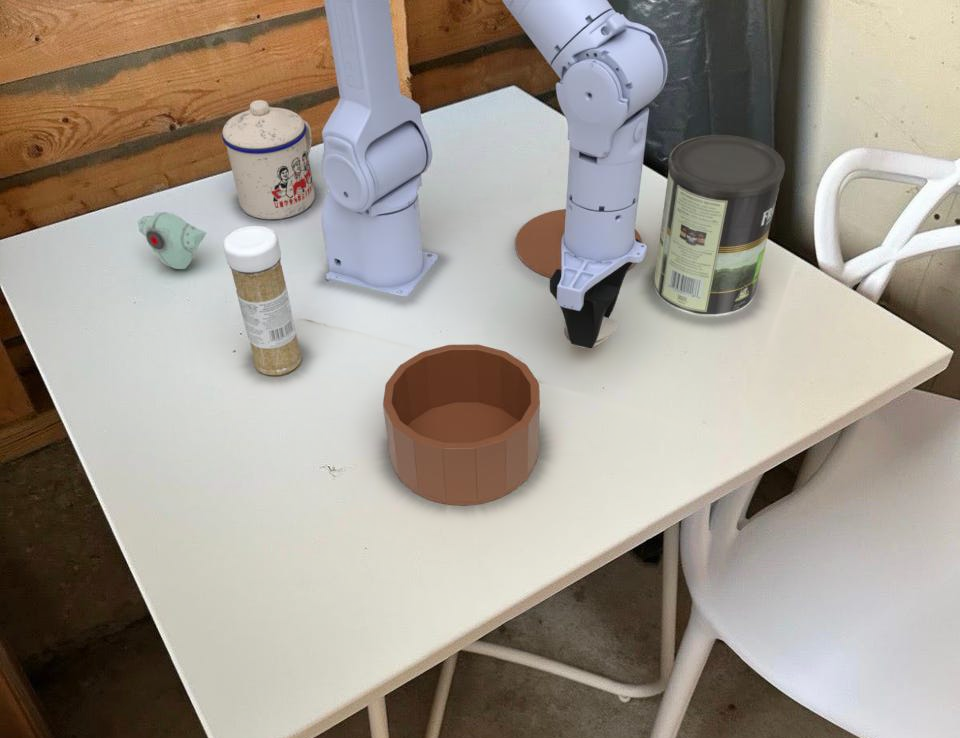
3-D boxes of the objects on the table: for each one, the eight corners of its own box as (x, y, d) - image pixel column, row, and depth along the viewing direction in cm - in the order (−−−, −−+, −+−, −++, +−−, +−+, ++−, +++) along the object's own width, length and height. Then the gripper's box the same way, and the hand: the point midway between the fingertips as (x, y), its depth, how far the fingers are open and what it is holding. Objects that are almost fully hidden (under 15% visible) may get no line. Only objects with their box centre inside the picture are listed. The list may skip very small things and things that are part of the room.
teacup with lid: (286, 229, 103) (266, 130, 94) (221, 210, 106) (197, 112, 98) (346, 180, 110) (333, 83, 102) (284, 163, 113) (266, 68, 105)
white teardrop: (560, 326, 86) (561, 304, 84) (613, 322, 86) (615, 300, 84) (567, 355, 83) (569, 333, 81) (622, 351, 83) (625, 329, 82)
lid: (496, 270, 97) (495, 235, 94) (541, 207, 105) (542, 172, 102) (619, 299, 93) (623, 263, 90) (656, 231, 101) (661, 195, 98)
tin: (365, 479, 76) (355, 422, 72) (430, 387, 84) (425, 330, 80) (503, 523, 73) (503, 466, 68) (558, 422, 81) (561, 365, 76)
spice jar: (293, 341, 89) (268, 218, 79) (309, 368, 86) (284, 244, 77) (247, 355, 88) (215, 231, 78) (261, 383, 85) (230, 259, 75)
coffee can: (754, 265, 96) (784, 137, 86) (754, 326, 89) (787, 194, 79) (655, 256, 98) (672, 129, 88) (647, 314, 91) (665, 184, 81)
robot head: (221, 268, 98) (206, 211, 93) (197, 289, 95) (180, 232, 91) (160, 251, 100) (142, 195, 96) (135, 271, 98) (116, 215, 93)
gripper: (623, 251, 68) (608, 389, 78) (676, 160, 77) (656, 294, 87) (534, 231, 70) (530, 368, 80) (595, 144, 79) (585, 277, 89)
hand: (590, 328), depth 83 cm, fingers closed on white teardrop, 4 cm apart
